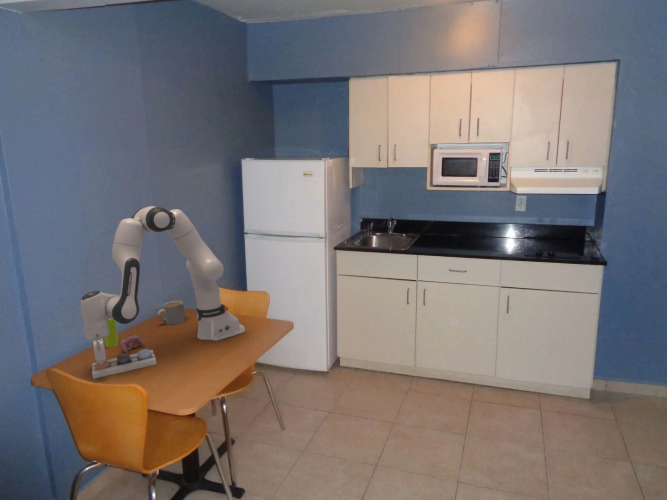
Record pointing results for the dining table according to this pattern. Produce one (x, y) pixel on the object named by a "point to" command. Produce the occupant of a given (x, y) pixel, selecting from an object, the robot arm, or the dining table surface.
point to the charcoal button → (123, 359)
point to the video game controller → (132, 339)
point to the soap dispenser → (111, 334)
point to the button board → (124, 367)
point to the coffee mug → (172, 313)
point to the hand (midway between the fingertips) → (102, 363)
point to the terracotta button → (105, 365)
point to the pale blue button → (144, 354)
